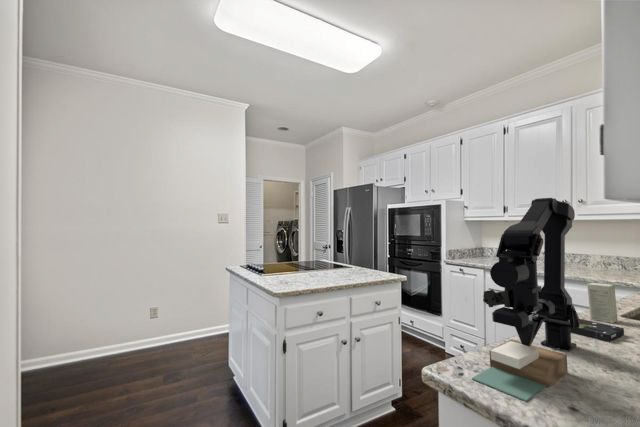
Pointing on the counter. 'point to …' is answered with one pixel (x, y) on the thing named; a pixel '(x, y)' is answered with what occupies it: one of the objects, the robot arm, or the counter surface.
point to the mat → (509, 383)
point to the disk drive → (598, 331)
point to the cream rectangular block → (515, 354)
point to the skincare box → (602, 302)
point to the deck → (538, 366)
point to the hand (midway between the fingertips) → (526, 347)
